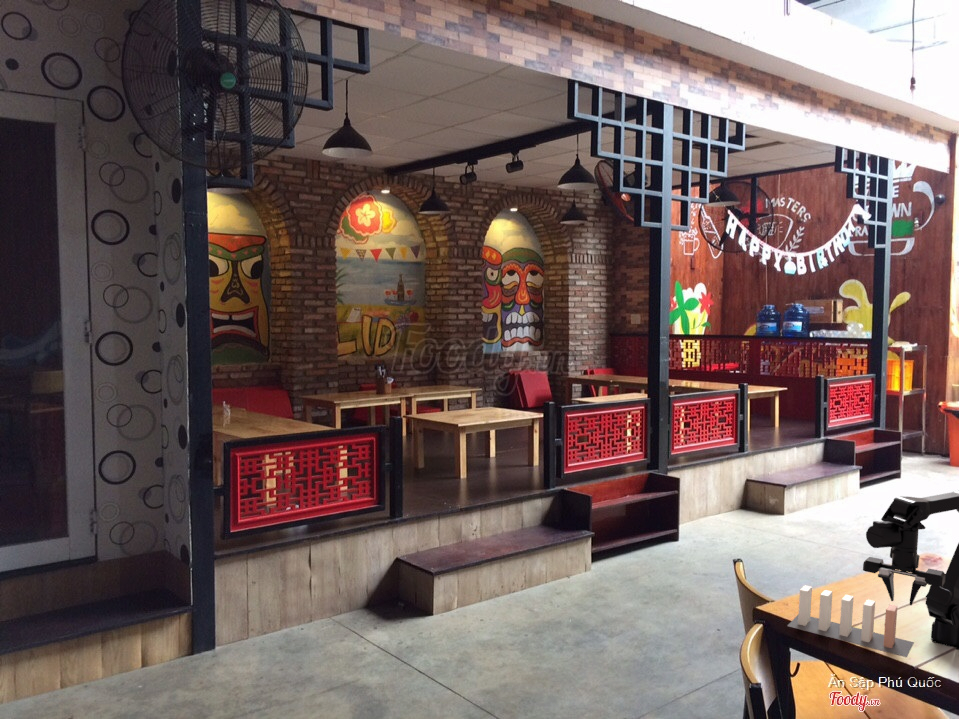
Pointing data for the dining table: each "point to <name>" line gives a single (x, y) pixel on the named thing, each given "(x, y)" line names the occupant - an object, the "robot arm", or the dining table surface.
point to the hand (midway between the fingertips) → (901, 602)
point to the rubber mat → (855, 636)
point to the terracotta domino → (890, 626)
